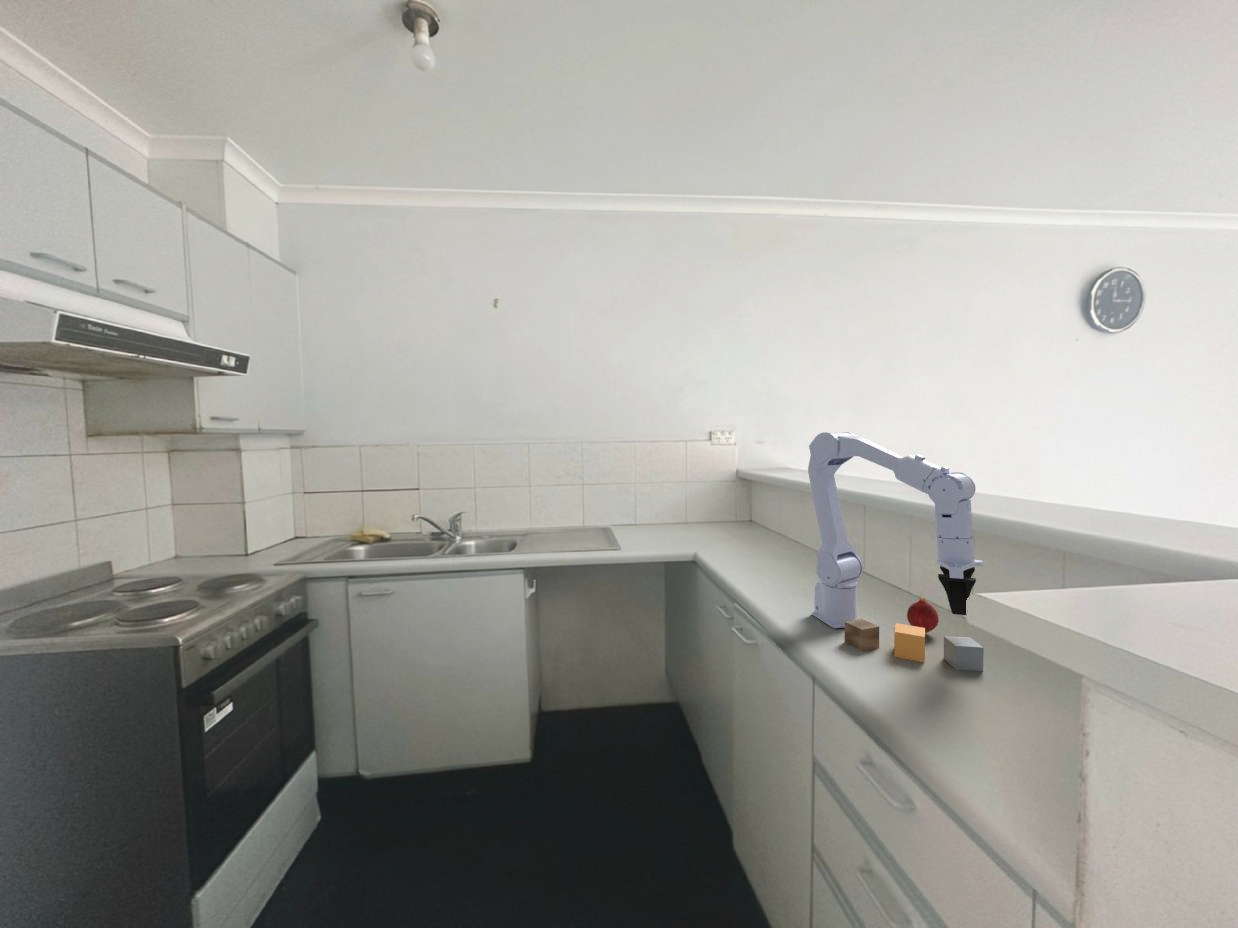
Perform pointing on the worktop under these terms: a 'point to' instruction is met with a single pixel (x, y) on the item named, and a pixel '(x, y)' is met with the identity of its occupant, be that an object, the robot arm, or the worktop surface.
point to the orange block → (909, 642)
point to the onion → (922, 615)
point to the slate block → (963, 653)
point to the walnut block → (862, 634)
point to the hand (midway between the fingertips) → (959, 608)
